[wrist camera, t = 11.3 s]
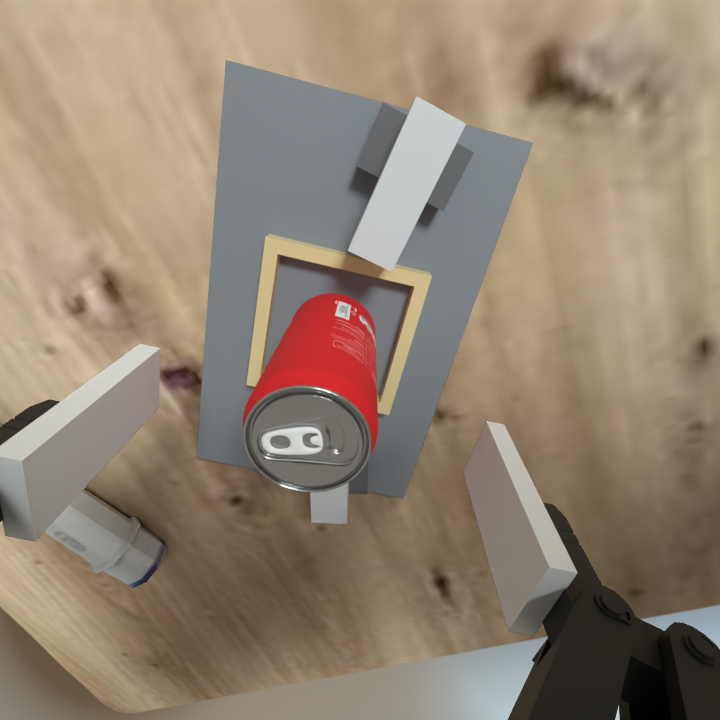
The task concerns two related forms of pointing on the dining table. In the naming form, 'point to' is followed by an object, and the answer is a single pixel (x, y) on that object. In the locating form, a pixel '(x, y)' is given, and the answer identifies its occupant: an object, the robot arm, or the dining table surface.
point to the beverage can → (316, 399)
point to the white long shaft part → (108, 540)
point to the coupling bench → (347, 251)
